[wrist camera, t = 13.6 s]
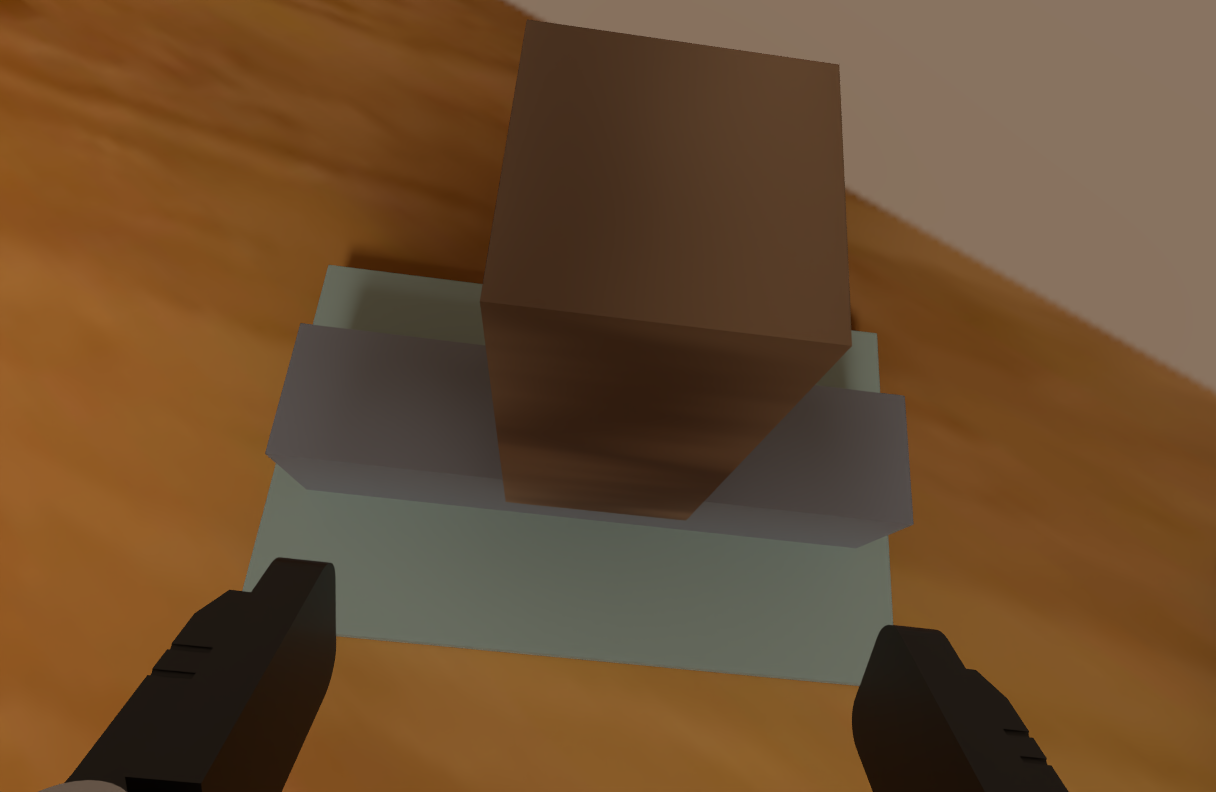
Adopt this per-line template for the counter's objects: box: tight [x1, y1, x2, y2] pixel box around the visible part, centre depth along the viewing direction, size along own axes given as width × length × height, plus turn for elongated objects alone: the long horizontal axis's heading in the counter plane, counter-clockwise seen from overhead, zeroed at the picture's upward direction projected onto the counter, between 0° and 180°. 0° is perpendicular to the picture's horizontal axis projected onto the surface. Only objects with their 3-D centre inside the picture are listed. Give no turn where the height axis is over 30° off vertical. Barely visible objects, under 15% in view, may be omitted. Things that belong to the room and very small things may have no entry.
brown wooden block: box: [480, 20, 852, 521], centre depth 14 cm, size 4×4×10 cm
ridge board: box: [243, 265, 913, 686], centre depth 21 cm, size 18×11×5 cm, turn 85°
